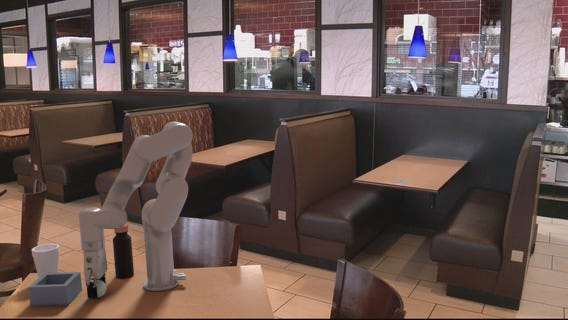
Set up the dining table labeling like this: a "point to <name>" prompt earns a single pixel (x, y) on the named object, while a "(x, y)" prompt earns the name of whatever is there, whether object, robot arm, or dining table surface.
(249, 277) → the dining table surface
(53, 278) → the blue-grey open box
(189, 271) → the dining table surface
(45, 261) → the foam cup
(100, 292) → the ball
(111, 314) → the dining table surface
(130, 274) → the bottle
